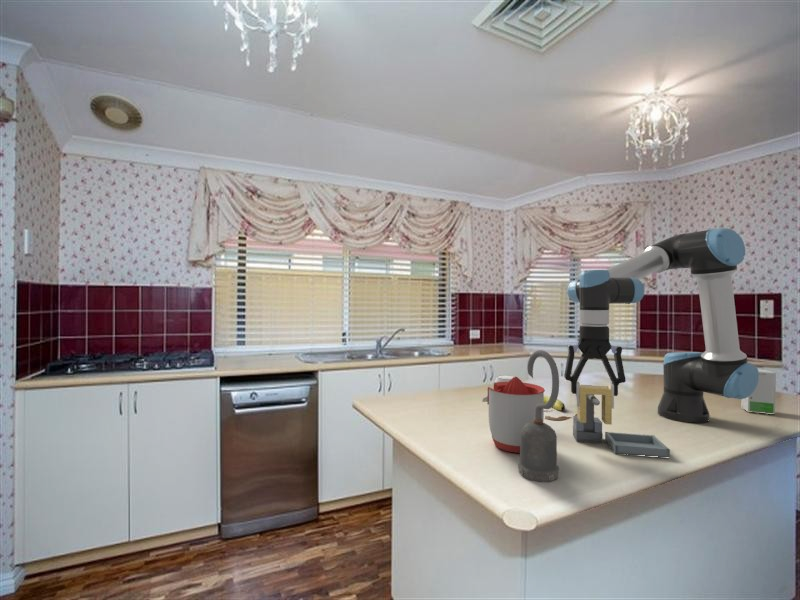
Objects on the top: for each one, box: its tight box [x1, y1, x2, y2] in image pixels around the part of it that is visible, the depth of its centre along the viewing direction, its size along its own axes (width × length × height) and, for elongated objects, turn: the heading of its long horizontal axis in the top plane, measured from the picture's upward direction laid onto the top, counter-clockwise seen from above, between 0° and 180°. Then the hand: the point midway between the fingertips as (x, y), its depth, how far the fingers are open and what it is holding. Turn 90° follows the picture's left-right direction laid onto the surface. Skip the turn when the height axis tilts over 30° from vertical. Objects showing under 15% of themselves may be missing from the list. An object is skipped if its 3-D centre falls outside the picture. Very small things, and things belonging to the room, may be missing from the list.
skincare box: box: [740, 369, 777, 414], centre depth 149 cm, size 8×7×16 cm
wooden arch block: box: [576, 384, 613, 425], centre depth 112 cm, size 8×4×10 cm, turn 76°
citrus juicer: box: [481, 376, 546, 454], centre depth 115 cm, size 16×17×20 cm
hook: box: [517, 349, 560, 483], centre depth 96 cm, size 10×12×30 cm
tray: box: [604, 431, 671, 457], centre depth 112 cm, size 13×11×2 cm
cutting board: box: [544, 394, 577, 421], centre depth 157 cm, size 35×27×4 cm
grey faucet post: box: [572, 384, 604, 445], centre depth 116 cm, size 7×14×16 cm, turn 166°
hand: (594, 406), depth 112 cm, fingers closed on wooden arch block, 8 cm apart
